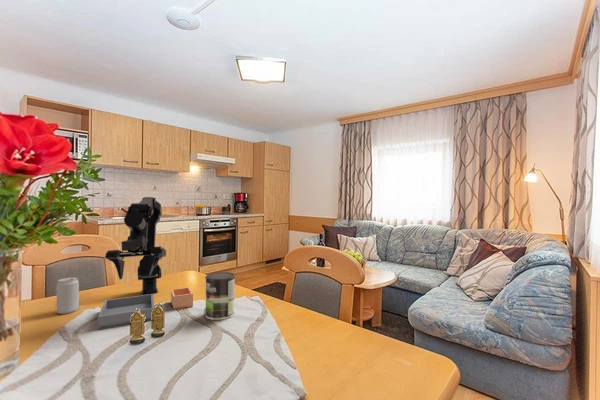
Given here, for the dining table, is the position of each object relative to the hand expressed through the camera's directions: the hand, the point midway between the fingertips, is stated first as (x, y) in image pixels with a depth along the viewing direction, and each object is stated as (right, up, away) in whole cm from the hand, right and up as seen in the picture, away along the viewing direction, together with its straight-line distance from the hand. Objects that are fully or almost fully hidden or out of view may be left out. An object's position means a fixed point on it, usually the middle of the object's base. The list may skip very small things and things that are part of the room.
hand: (134, 277), depth 102 cm
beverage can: (-28, -14, +5) cm, 31 cm away
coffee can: (+30, -14, +2) cm, 33 cm away
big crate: (-3, -14, +1) cm, 14 cm away
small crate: (+12, -14, +12) cm, 22 cm away
